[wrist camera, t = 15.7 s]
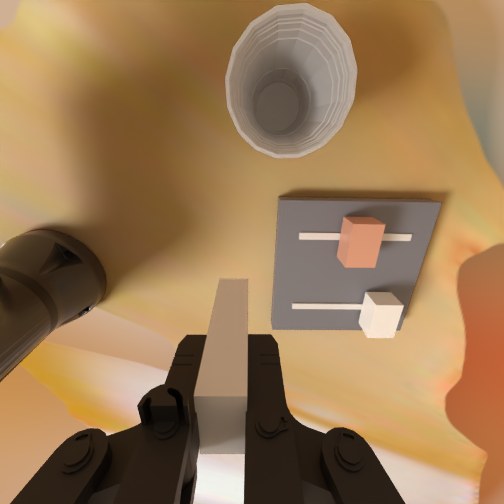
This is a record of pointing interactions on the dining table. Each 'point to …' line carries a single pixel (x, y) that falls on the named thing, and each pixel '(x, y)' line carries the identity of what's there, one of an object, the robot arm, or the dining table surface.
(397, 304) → the fader
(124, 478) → the robot arm
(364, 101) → the dining table surface
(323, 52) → the plastic cup
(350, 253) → the fader
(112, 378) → the dining table surface
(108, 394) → the dining table surface
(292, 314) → the slider panel
